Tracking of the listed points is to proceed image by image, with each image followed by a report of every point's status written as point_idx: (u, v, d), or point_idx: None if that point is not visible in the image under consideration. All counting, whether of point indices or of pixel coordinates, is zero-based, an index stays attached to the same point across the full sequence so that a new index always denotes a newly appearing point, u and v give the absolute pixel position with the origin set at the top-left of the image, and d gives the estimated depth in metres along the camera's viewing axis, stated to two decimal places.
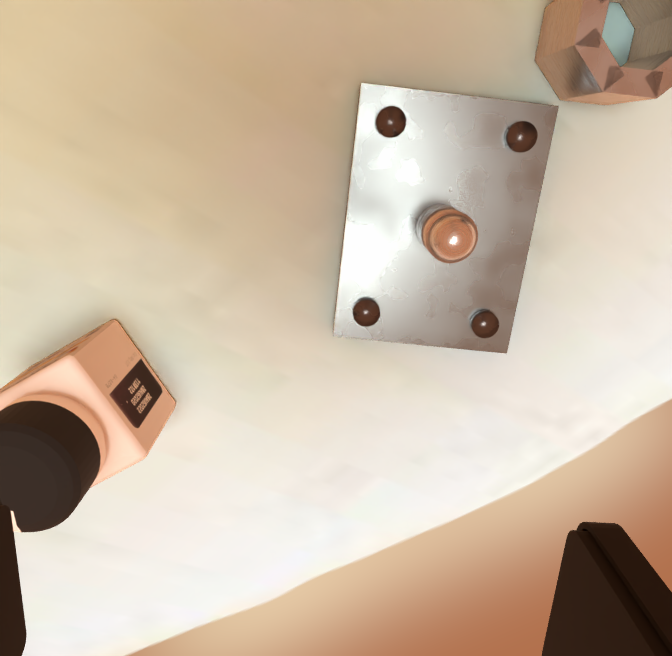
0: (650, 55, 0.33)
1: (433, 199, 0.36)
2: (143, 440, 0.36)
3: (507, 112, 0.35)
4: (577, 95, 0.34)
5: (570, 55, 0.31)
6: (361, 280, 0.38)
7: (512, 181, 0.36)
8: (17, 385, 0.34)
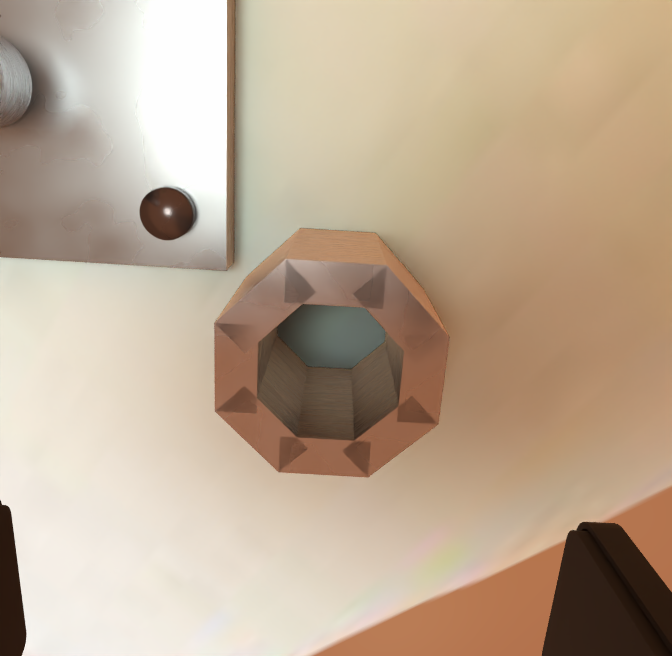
0: (303, 393, 0.21)
1: (37, 62, 0.19)
2: None
3: (206, 185, 0.20)
4: (235, 293, 0.20)
5: (278, 261, 0.18)
6: None
7: (96, 210, 0.21)
8: None
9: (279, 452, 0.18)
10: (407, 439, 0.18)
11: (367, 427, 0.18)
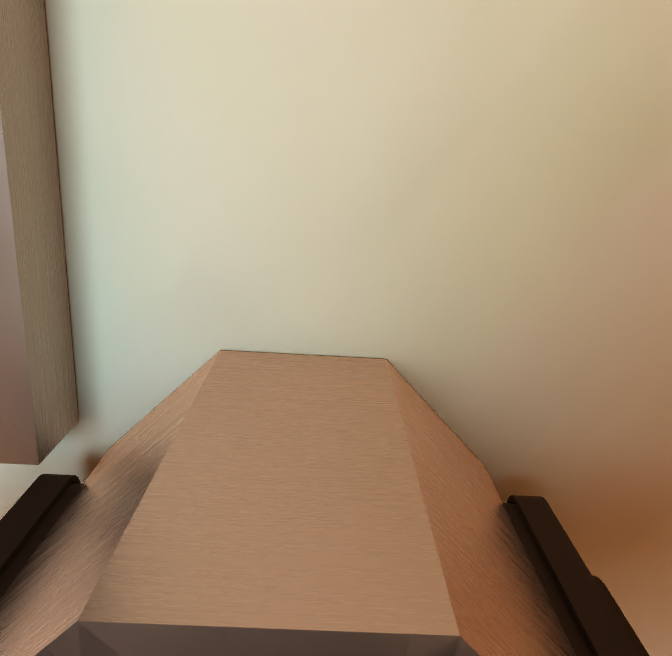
0: None
1: None
2: None
3: None
4: (37, 548, 0.08)
5: (93, 555, 0.05)
6: None
7: None
8: None
9: None
10: None
11: None
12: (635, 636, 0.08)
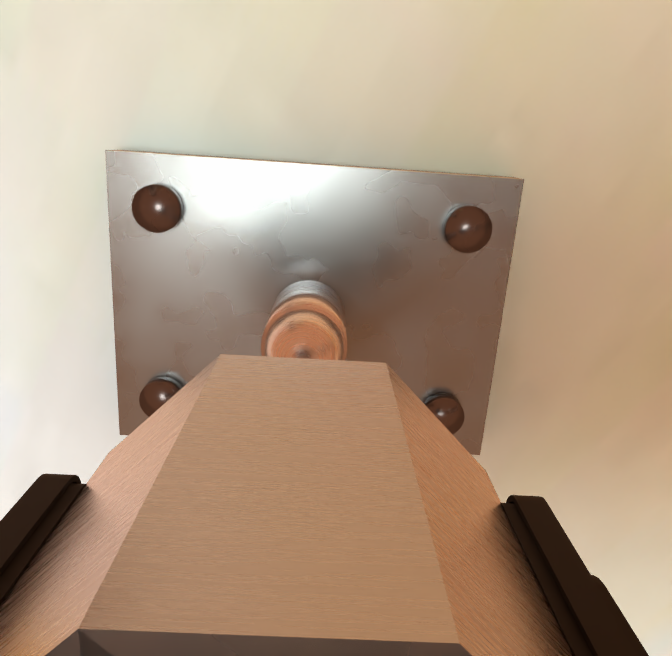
0: None
1: (351, 302, 0.24)
2: None
3: (473, 392, 0.25)
4: (38, 552, 0.08)
5: (93, 562, 0.05)
6: (212, 197, 0.22)
7: None
8: None
9: None
10: None
11: None
12: (634, 635, 0.08)
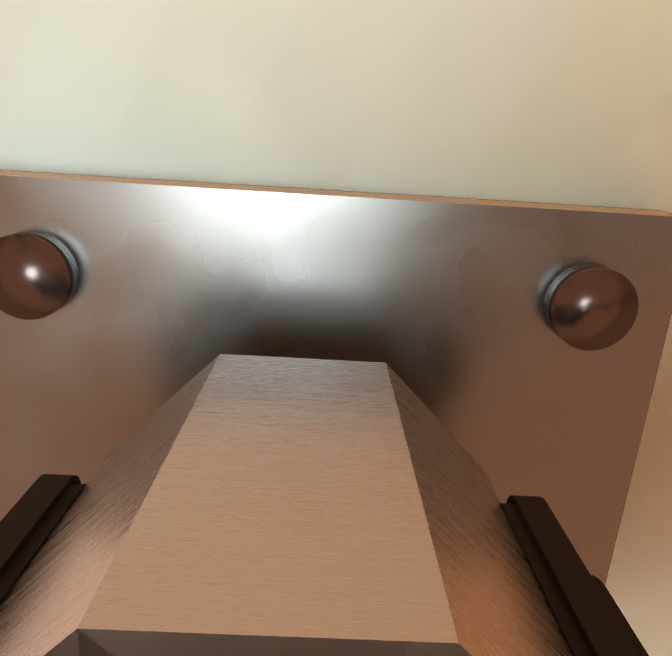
0: None
1: None
2: None
3: None
4: None
5: (92, 562, 0.05)
6: (130, 253, 0.12)
7: None
8: None
9: None
10: None
11: None
12: (634, 636, 0.08)
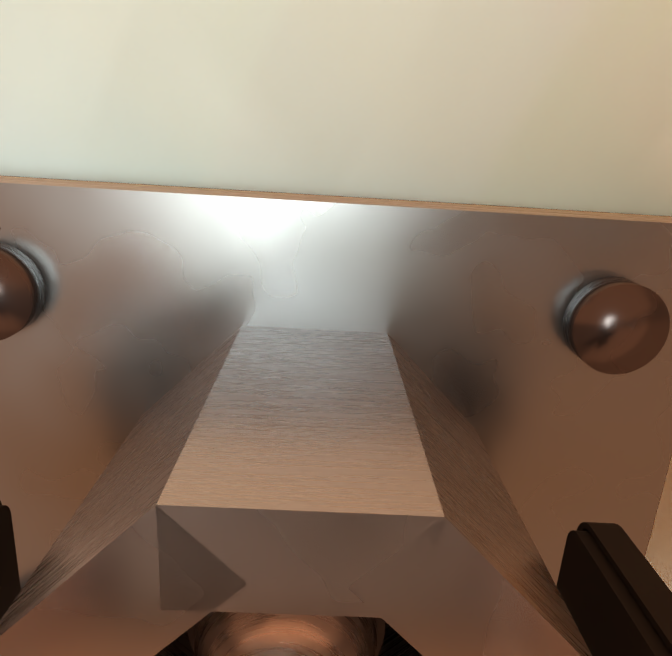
0: None
1: None
2: None
3: None
4: (92, 487, 0.09)
5: (156, 472, 0.07)
6: (102, 267, 0.11)
7: None
8: None
9: None
10: None
11: None
12: None
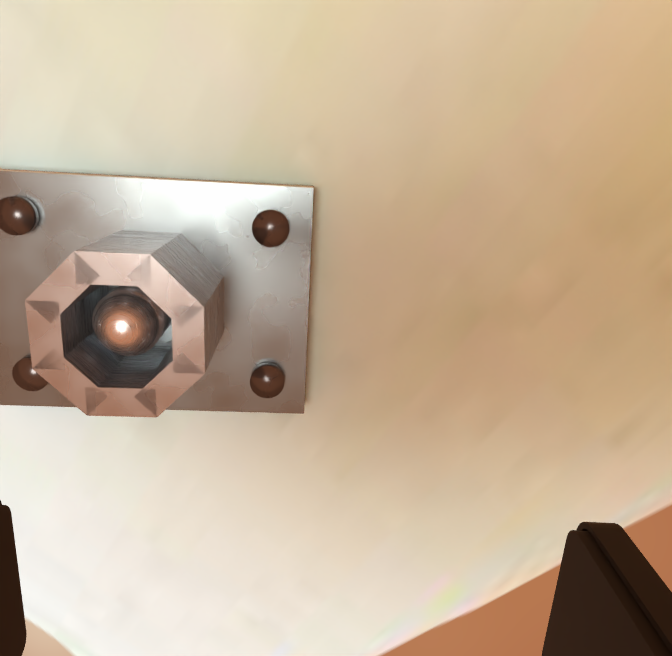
0: (121, 359, 0.27)
1: None
2: None
3: (293, 361, 0.31)
4: None
5: None
6: (62, 205, 0.28)
7: (217, 377, 0.31)
8: None
9: (86, 399, 0.24)
10: (183, 386, 0.24)
11: (153, 378, 0.24)
12: None
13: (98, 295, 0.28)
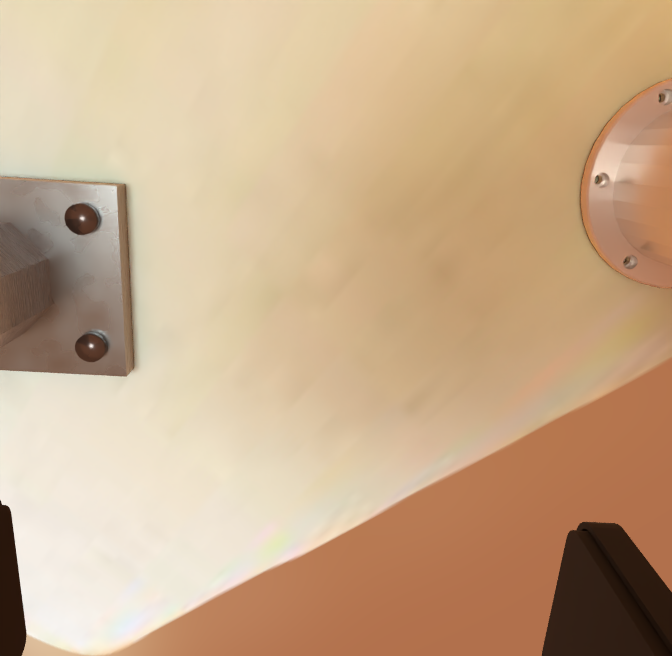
0: None
1: None
2: None
3: (113, 331, 0.36)
4: None
5: None
6: None
7: (51, 344, 0.37)
8: None
9: None
10: None
11: None
12: None
13: None
